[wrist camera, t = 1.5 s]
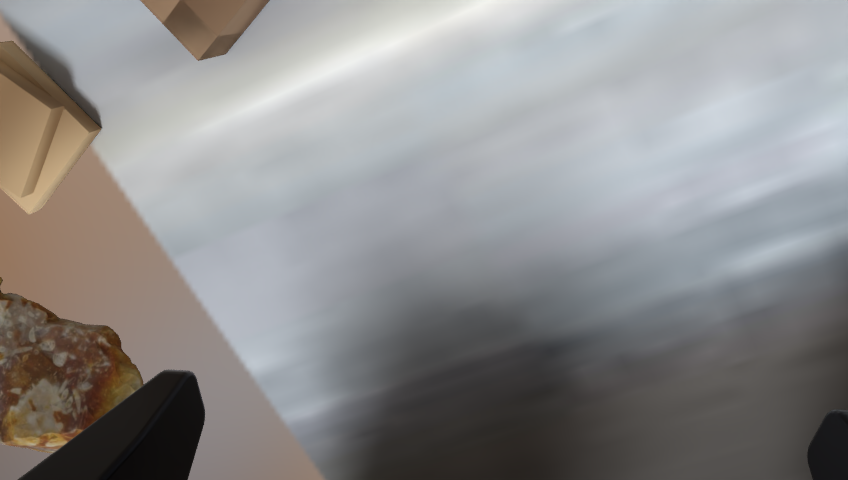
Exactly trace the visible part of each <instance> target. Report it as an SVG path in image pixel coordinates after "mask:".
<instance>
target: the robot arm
mask: <svg viewBox="0 0 848 480" xmlns="http://www.w3.org/2000/svg"><path fill="white" fill-rule="evenodd" d="M204 420H205V409H204V404H203V401H202V397H201V394H200V390H199V386H198V382H197V379H196V376H195V375H194V373H193V372H190V371H183V370H164V371H162V372H160V373H159V374H158V375H156V376H155V377H154V378H152V379H151V380H150V381H148V382H147V383H146V384H144V385H143V386H142V387H140V388H139V389H138V390H136V391H135V392H134V393H132V394H131V395H130V396H128V397H127V398H126V399H124V400H123V401H122V402H120V403H119V404H118V405H116V406H115V407H114V408H112V409H111V410H110V411H108V412H107V413H106V414H104V415H103V416H102V417H100V418H99V419H98V420H96V421H95V422H94V423H92V424H91V425H90V426H88V427H87V428H86V429H84V430H83V431H82V432H80V433H79V434H78V435H76V436H75V437H74V438H72V439H71V440H70V441H68V442H67V443H66V444H65V445H63V446H62V447H61V448H59V449H58V450H57V451H55V452H54V453H53V454H51V455H50V456H49V457H47V458H46V459H45V460H43V461H42V462H41V463H39V464H38V465H37V466H35V467H34V468H33V469H31V470H30V471H29V472H27V473H26V474H25V475H23V476H22V477H21V478H19V479H18V480H188V476H189V473H190V470H191V466H192V463H193V460H194V456H195V453H196V449H197V446H198V442H199V439H200V436H201V432H202V429H203V425H204ZM808 464H809V468H810V471H811V474H812V477H813V480H848V410H837V409H836V410H832V411H830V412H829V413H827V415H826V416H825V418H824V420H823V421H822V423H821V425H820V427H819V429H818V431H817V432H816V434H815V436H814V438H813V440H812V441H811V443H810V445H809V448H808Z"/></svg>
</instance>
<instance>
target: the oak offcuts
mask: <svg viewBox="0 0 848 480" xmlns="http://www.w3.org/2000/svg"><path fill="white" fill-rule="evenodd" d="M100 130H101V128H100V127H99V126H98V125H97V124H96V123H95V122H94V121H93V120H92V119H91V118H90V117H89V116H88V115H87V114H86V113H85V112H84V111H83V110H82V109H81V108H80V107H79V106H78V105H77V104H76V103H75V102H74V101H73V100H72V99H71V98H70V97H69V96H68V95H67V94H66V93H65V92H64V91H63V90H62V89H61V88H60V87H59V86H58V85H57V84H56V83H55V82H54V81H53V80H52V79H51V78H50V77H49V76H48V75H47V74H46V73H45V72H44V71H43V70H42V69H40V68H39V67H38V66H37V65H36V64H35V63H34V62H33V61H32V60H31V59H30V58H29V57H28V56H27V55H26V54H25V53H24V52H23V51H22V50H21V49H20V48H19V47H18V46H17V45H16V44H15V43H14V42H13V41H7V42H0V188H1V189H2V190H3V191H4V192H5V193H6V194H7V195H8V196H9V197H11V198H12V199H13V200H14V201H15V202H16V203H17V204H18V205H19V206H20V207H21V208H22V209H24V211H26V212H27V213H28V214H31V213H34V212H36V211H38V210H40V209H41V208H42V207H43V206H44V205H45V203H46V202H47V201H48V199H49V198H50V197H51V195H52V194H53V193H54V191H55V190H56V189H57V187H58V186H59V185H60V183H61V182H62V181H63V179H64V178H65V177H66V175H67V174H68V173H69V171H70V170H71V169H72V167H73V166H74V165H75V163H76V162H77V161H78V159H79V158H80V157H81V155H82V154H83V153H84V151H85V150H86V149H87V148H88V146H89V145H90V144H91V142H92V141H93V140H94V138H95V137H96V136H97V134H98V133H99V132H100Z"/></svg>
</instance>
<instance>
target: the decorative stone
mask: <svg viewBox="0 0 848 480" xmlns="http://www.w3.org/2000/svg"><path fill="white" fill-rule="evenodd" d="M2 281H3V280H2V278H1V277H0V285H1V283H2ZM143 385H144V384H143V380H142V377H141V375H140V372H139V371H138V369H137V367H136V365H134V364H132V363H131V360H130V358H129V357H128V356H127V355H126V354H125V353H124V352H123V350H122V349H121V341H120V338H119V336H118V335H117V334H116V333H115V332H114V331H113V330H112V329H111V328H110V327H108V326H102V325H85V324H82V323H78V322H74V321H70V320H65V319H60V318H58V317H57V316H56V315H55V314H54V313H52V312H51V311H49V310H47V309H46V308H44V307H42V306H41V305H39V304H38V303H35V302H32V301H29V300H27V299H25V298H23V297H22V296H19V295H17V294H12V293H8V294H3V293H1V290H0V444H3V445H10V446H16V447H22V448H29V449H33V450H37V451H41V452H47V453H54V452H55V451H57V450H58V449H59V448H61V447H62V446H63V445H65V444H66V443H67V442H68V441H70V440H71V439H72V438H74V437H75V436H76V435H78V434H79V433H80V432H82V431H83V430H84V429H86V428H87V427H88V426H90V425H91V424H92V423H94V422H95V421H96V420H98V419H99V418H100V417H102V416H103V415H104V414H106V413H107V412H108V411H110V410H111V409H112V408H114V407H115V406H116V405H118V404H119V403H120V402H122V401H123V400H124V399H126V398H127V397H128V396H130V395H131V394H132V393H134V392H135V391H136V390H138V389H139V388H140V387H142V386H143Z"/></svg>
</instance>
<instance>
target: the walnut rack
mask: <svg viewBox="0 0 848 480" xmlns="http://www.w3.org/2000/svg"><path fill="white" fill-rule="evenodd" d="M141 2H142V3H143V4H144V5H145V6H146V7H147V8H148V9H149V10H150V11H151V12H152V13H153V14H154V15H155V16H156V17H157V18H158V19H159V20H160V21H161V23H162V24H163V25H164V26H165V27H166V28H167V29H168V30H169V31H170V32H171V33H172V34H173V35H174V36H175V37H176V38H177V39H178V40H179V41H180V42H181V43H182V45H183V46H184V47H185V48H186V49H187V50H188V51H189V52H190V53H191V54H192V55H193V56H194V57H195V58H196V59H197V60H198V61H199V60H203V59H208V58H212V57H216V56H220V55H224V54H226V53H227V52H228V51H229V49H230V48H231V47H232V46H233V44H234V43H235V42H236V41H237V40H238V38H239V37H240V36H241V35H242V33H243V32H244V31H245V30H246V29H247V27H248V26H249V25H250V24H251V22H252V21H253V20H254V19H255V18H256V16H257V15H258V14H259V13H260V11H261V10H262V9H263V8H264V7H265V5H266V4H267V3H268V2H269V0H141Z"/></svg>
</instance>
